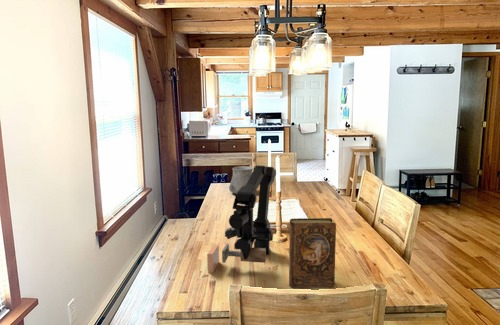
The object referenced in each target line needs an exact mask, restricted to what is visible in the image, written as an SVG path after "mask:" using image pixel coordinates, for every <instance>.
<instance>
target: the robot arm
mask: <svg viewBox="0 0 500 325" xmlns="http://www.w3.org/2000/svg"><path fill="white" fill-rule="evenodd" d="M276 175H277V170H276V169H275V168H274V166H265V165H257V164H256V165H254V167H253V170H252V174H251V176H250V178H249V180H248V182H247V184H246V185H245V186H243V187H241V188H240V189H239V191H238V192H237V193H236V194H235V197H234V200H233V205H232V210H233V213H232V215H230V217H229V218H228V224H229V226H230V227H228V228H226V229H225V231H224V237H225V238H226V239H227V240H230V239H231V238H235V237H236V238H237V239H236V240H235V242H234V244H233V247H234V249H235V250H240V251H241V250H242V253H243V257H244V259H246V260H247V258H248V255H249V253H250V250H251V247H252V248H266V255H269V254H270V251H271V248H270V246H271V245H270V242H271V241H273V240H274V233H273V231H272V228H271V223H270V221H269V218H268V215H269V214H268V213H269V204H270V192H271V191H270V190H271V186H272V185H273V183H274V182H275V178H276ZM258 188H259V194H258V198H257V194H256V192H257V190H258ZM257 200H258V202H257ZM256 202H257V203H258V204H257V212H256V213H257V214H256V218H255V219H254V208H255V206H256Z"/></svg>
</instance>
